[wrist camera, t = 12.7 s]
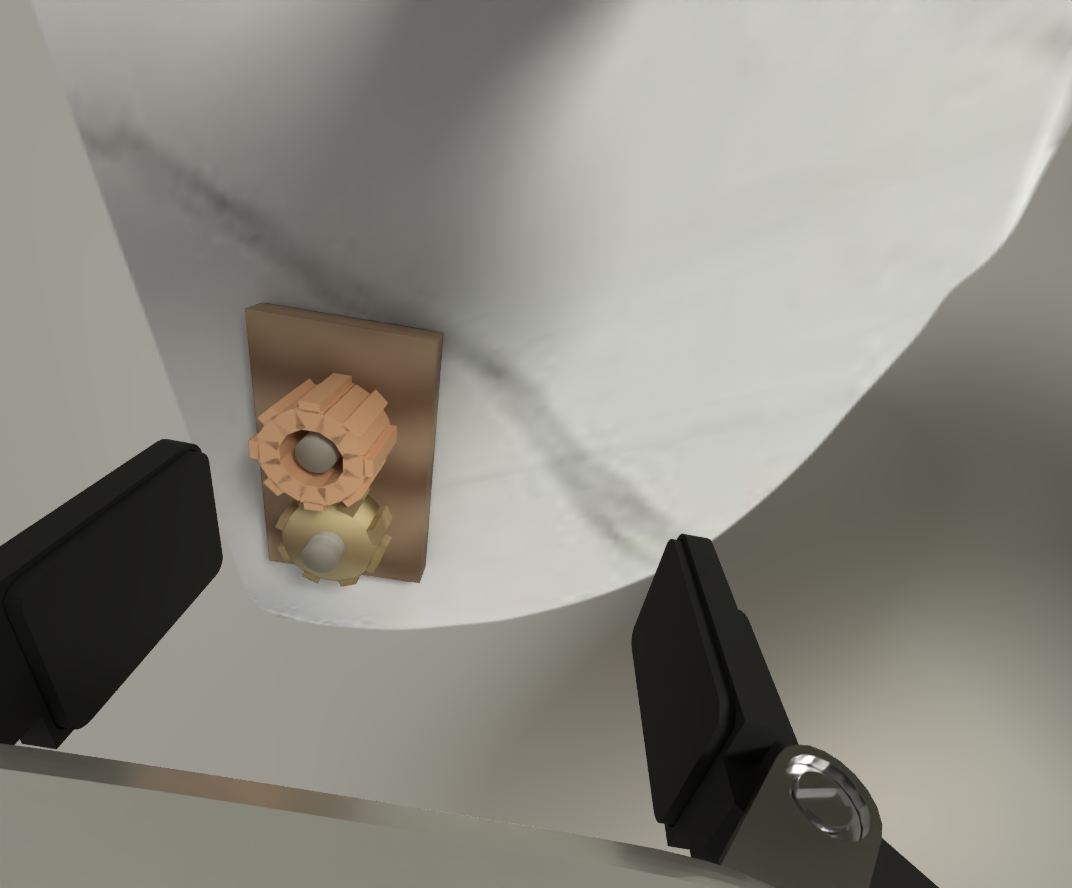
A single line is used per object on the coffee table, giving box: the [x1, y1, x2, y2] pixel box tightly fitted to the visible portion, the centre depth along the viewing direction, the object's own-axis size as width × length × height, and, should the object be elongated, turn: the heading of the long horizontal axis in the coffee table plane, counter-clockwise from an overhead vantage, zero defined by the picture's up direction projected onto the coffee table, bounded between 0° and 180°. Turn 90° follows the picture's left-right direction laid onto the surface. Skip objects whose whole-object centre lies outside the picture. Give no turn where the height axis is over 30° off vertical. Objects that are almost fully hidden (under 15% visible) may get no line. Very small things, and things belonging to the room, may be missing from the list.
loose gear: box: [248, 373, 397, 512], centre depth 33 cm, size 7×7×5 cm
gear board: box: [245, 303, 443, 586], centre depth 35 cm, size 20×12×6 cm, turn 171°
